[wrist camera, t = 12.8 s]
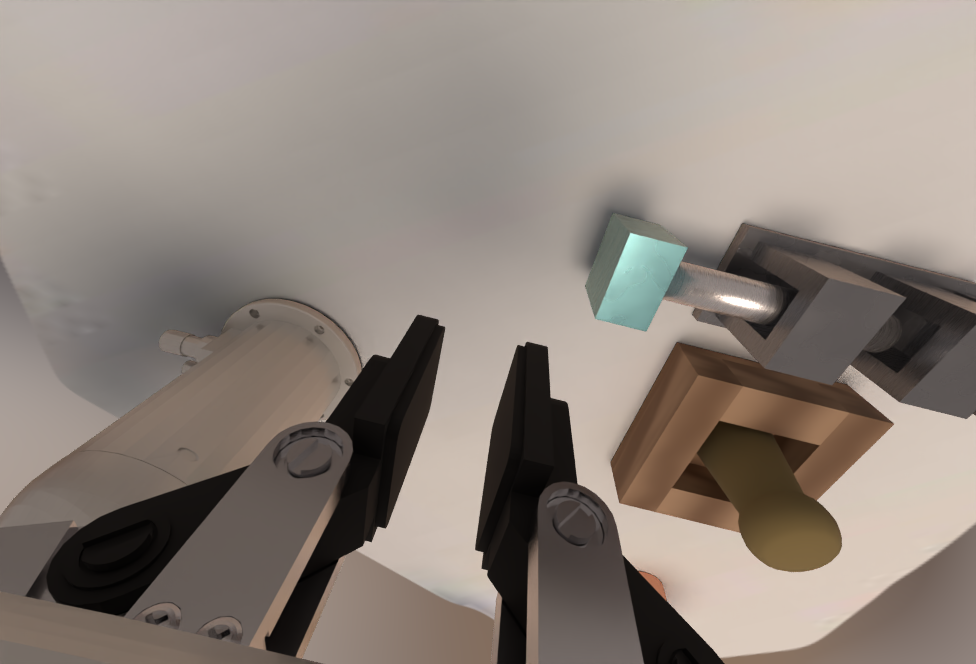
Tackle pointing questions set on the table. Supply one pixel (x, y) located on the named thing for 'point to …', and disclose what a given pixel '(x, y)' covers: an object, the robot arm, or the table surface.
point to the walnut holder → (745, 402)
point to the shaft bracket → (858, 319)
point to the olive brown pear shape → (769, 500)
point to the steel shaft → (682, 283)
